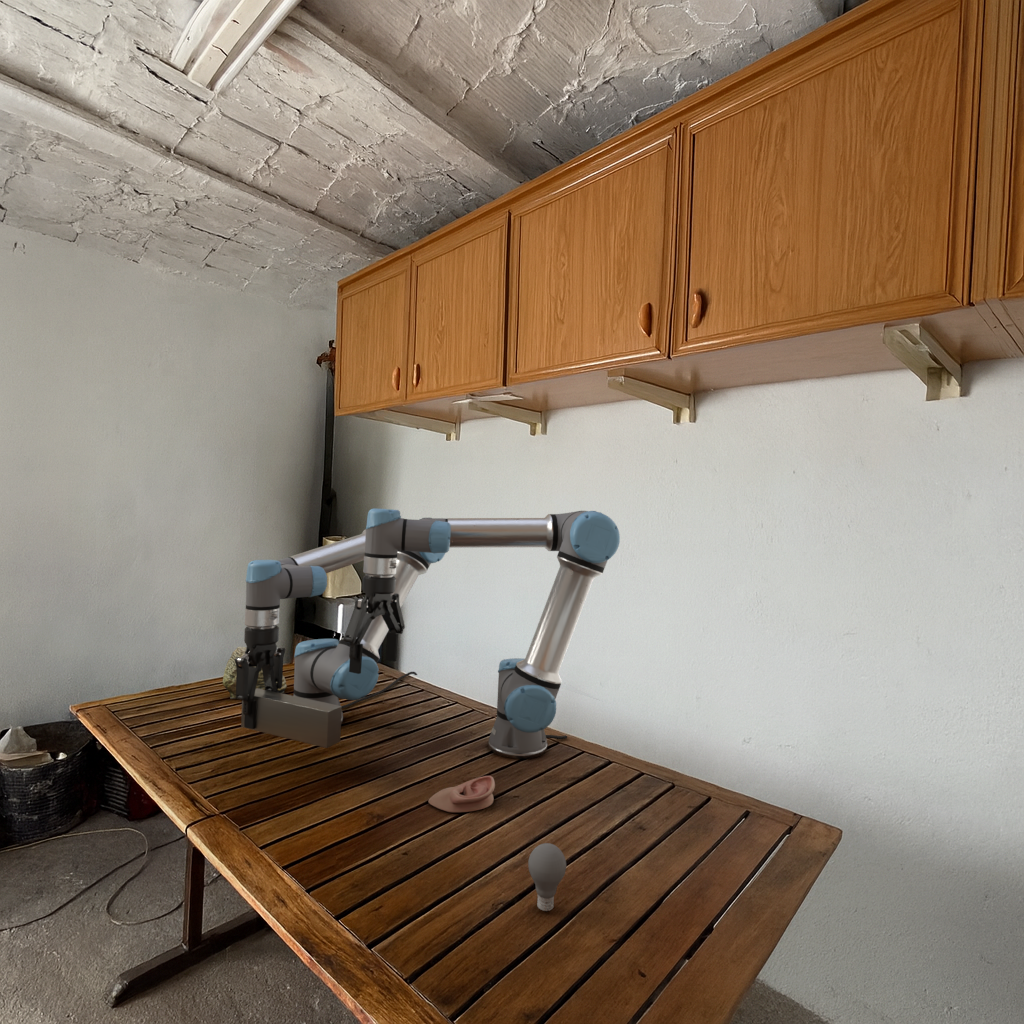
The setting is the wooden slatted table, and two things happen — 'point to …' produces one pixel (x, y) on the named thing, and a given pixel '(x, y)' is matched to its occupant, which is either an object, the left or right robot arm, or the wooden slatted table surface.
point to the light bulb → (546, 873)
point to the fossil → (231, 671)
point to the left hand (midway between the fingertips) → (258, 723)
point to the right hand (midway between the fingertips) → (373, 666)
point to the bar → (297, 718)
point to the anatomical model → (465, 796)
